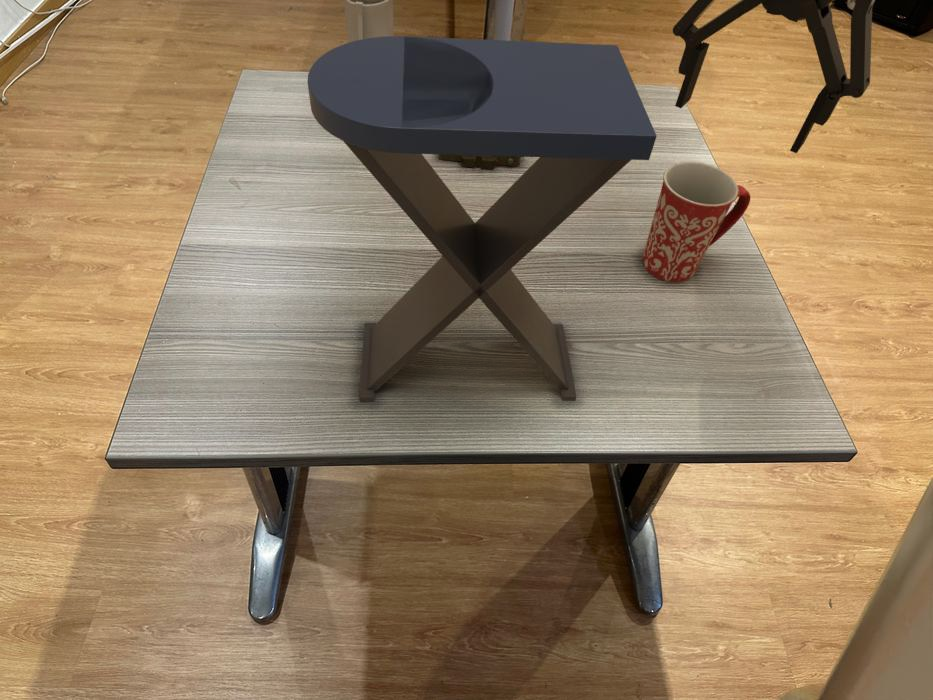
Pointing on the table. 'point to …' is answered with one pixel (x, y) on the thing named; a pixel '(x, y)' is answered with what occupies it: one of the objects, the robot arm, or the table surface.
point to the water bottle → (368, 19)
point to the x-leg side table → (485, 134)
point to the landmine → (483, 160)
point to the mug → (690, 218)
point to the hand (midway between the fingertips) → (737, 124)
